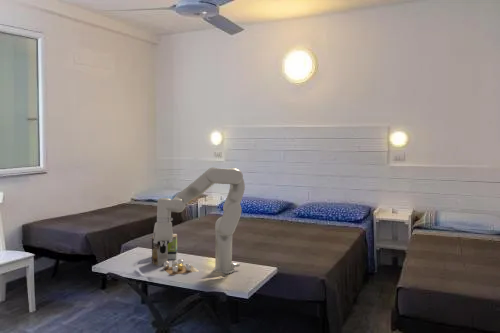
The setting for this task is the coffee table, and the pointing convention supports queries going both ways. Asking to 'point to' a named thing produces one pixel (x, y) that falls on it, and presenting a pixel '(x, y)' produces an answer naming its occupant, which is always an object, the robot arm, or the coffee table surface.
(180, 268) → the brass domed cylinder
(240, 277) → the coffee table surface
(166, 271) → the board
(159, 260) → the coffee box
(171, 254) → the tea box
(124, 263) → the coffee table surface
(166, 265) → the spacers
